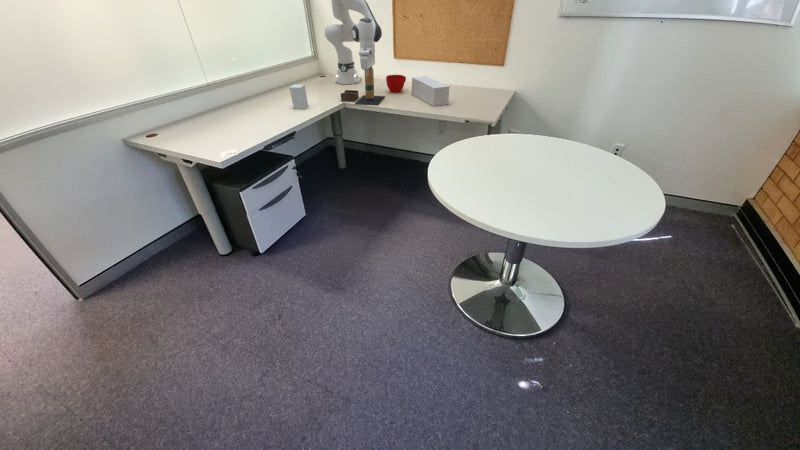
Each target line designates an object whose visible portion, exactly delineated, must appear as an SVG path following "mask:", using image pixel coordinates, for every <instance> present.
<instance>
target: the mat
mask: <svg viewBox="0 0 800 450" xmlns="http://www.w3.org/2000/svg"><path fill="white" fill-rule="evenodd" d="M385 97H386V96H385V95H374V98H366V94H365V95H362V96H361V97H359V98H358V99H357V100H356V101H355V102H354V105H361V106H363V105H364V106H379V105H380V103H382V101H383V100H384V99H385Z"/></svg>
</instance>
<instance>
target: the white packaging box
mask: <svg viewBox="0 0 800 450" xmlns="http://www.w3.org/2000/svg"><path fill="white" fill-rule="evenodd" d="M289 92H290V93H289V94H290V97H291V102H292V107H293V109H294V110H305V109H307V107H309V102H308V95H307V90H306V84H292V85H290V87H289Z"/></svg>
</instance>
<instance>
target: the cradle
mask: <svg viewBox="0 0 800 450" xmlns="http://www.w3.org/2000/svg"><path fill="white" fill-rule="evenodd" d="M359 99H360V96H359V90H355V89H354V90H352V89H344V92H341V93H340V101H341V102H348V103H349V102H350V103H356V102H357V101H358V100H359Z"/></svg>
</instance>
